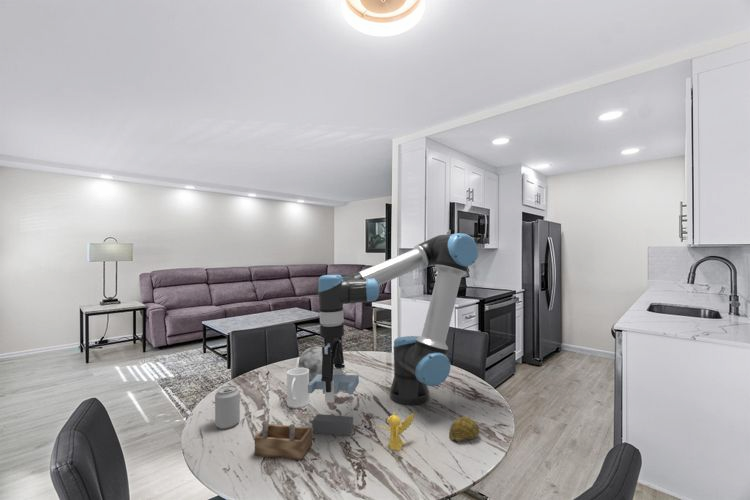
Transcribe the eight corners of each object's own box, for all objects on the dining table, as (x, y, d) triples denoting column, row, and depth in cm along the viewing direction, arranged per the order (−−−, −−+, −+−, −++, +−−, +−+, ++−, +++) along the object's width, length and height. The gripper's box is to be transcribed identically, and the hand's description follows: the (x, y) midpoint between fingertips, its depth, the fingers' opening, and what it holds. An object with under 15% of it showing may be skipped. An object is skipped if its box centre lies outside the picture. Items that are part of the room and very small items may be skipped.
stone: (291, 381, 149) (291, 347, 149) (318, 371, 161) (318, 340, 161) (313, 390, 139) (312, 353, 139) (340, 379, 151) (340, 345, 151)
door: (358, 382, 111) (358, 375, 111) (352, 394, 102) (352, 386, 102) (317, 381, 113) (317, 374, 113) (308, 393, 104) (307, 385, 104)
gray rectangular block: (353, 429, 108) (353, 416, 108) (350, 435, 104) (350, 422, 104) (317, 426, 110) (317, 414, 110) (312, 432, 106) (312, 420, 106)
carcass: (312, 444, 100) (311, 414, 100) (301, 460, 92) (301, 427, 92) (267, 440, 102) (267, 410, 102) (254, 456, 95) (253, 423, 95)
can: (215, 432, 107) (215, 394, 107) (214, 422, 114) (214, 386, 114) (241, 426, 111) (240, 389, 111) (238, 416, 117) (238, 382, 118)
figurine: (380, 428, 108) (379, 401, 108) (414, 438, 102) (414, 409, 102) (360, 447, 98) (359, 417, 98) (397, 459, 92) (396, 427, 92)
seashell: (457, 456, 100) (470, 444, 96) (440, 435, 103) (452, 423, 99) (474, 437, 107) (487, 425, 102) (457, 418, 110) (469, 406, 106)
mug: (300, 413, 120) (300, 379, 120) (278, 411, 121) (278, 377, 121) (313, 398, 131) (313, 367, 131) (292, 397, 133) (292, 366, 133)
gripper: (330, 316, 119) (333, 381, 119) (308, 332, 97) (311, 410, 97) (351, 316, 118) (353, 381, 118) (333, 332, 96) (336, 411, 96)
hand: (334, 394), depth 108 cm, fingers closed on door, 9 cm apart
